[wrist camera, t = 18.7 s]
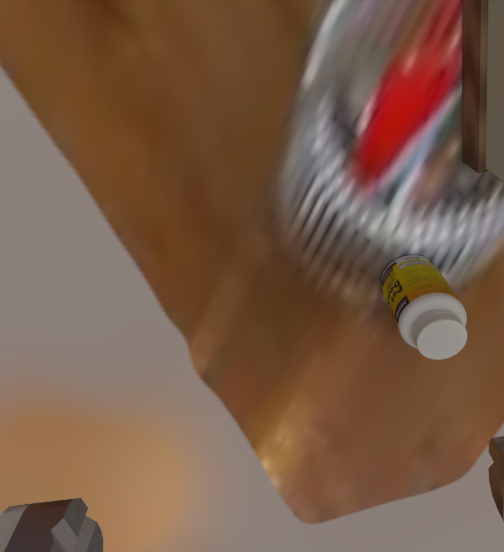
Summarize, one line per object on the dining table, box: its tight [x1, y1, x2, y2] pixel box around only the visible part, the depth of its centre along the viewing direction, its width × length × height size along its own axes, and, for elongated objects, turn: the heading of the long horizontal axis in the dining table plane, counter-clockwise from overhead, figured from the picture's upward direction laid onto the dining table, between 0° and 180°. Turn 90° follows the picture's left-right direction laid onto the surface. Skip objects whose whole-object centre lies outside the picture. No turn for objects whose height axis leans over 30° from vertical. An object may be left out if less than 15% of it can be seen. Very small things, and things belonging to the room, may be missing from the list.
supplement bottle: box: [381, 255, 467, 360], centre depth 42 cm, size 6×6×10 cm
